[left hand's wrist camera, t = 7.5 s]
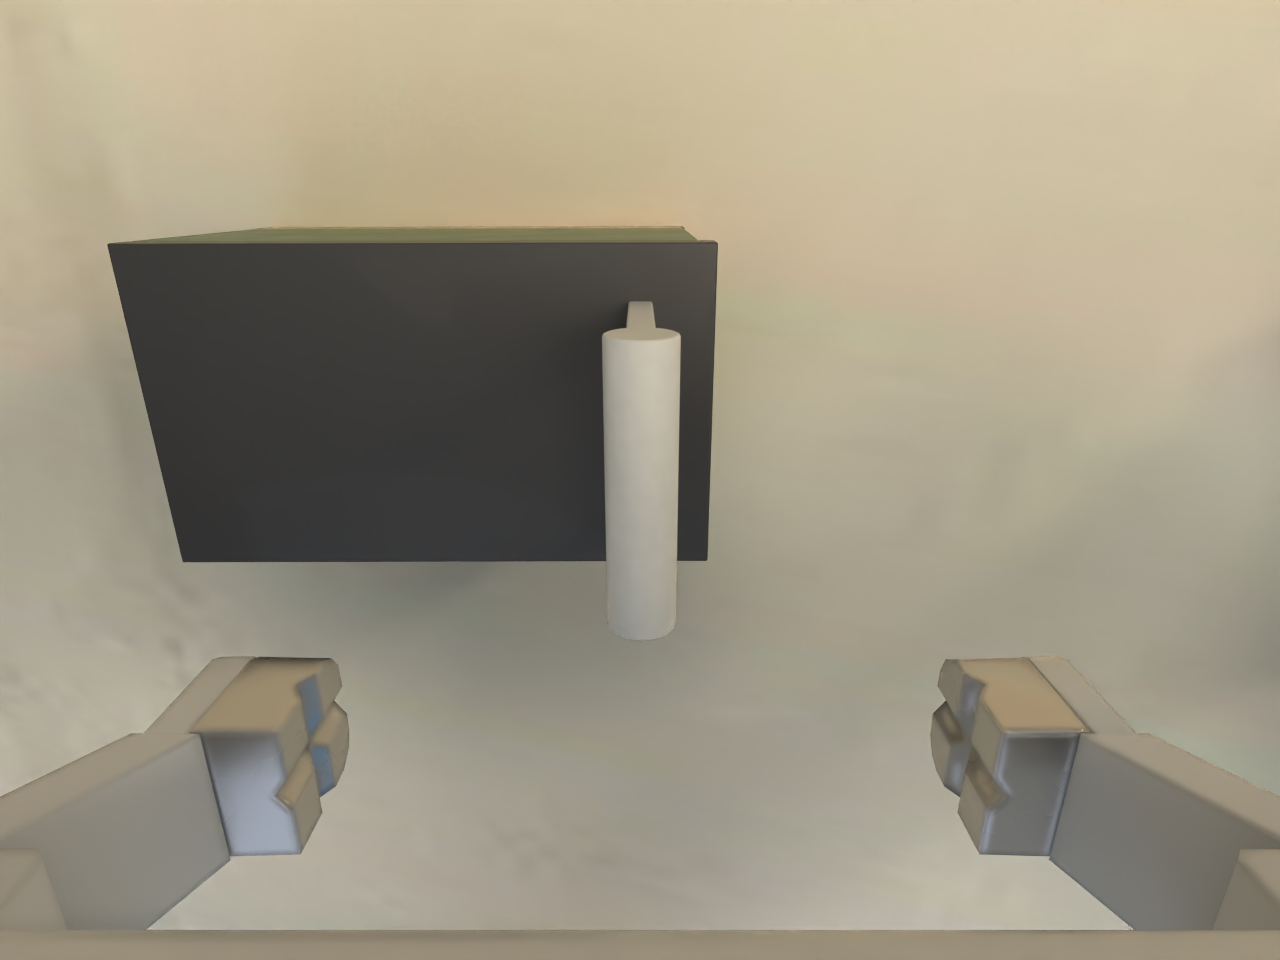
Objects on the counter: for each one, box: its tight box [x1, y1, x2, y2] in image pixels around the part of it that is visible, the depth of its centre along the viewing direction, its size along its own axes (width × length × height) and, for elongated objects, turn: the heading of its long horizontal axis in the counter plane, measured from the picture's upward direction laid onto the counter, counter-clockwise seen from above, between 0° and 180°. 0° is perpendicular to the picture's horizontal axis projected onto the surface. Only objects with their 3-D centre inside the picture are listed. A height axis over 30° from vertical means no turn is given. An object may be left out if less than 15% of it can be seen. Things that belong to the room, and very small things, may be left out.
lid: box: [108, 240, 718, 641], centre depth 20 cm, size 17×10×8 cm, turn 90°
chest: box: [132, 227, 697, 242], centre depth 29 cm, size 17×10×9 cm, turn 90°
